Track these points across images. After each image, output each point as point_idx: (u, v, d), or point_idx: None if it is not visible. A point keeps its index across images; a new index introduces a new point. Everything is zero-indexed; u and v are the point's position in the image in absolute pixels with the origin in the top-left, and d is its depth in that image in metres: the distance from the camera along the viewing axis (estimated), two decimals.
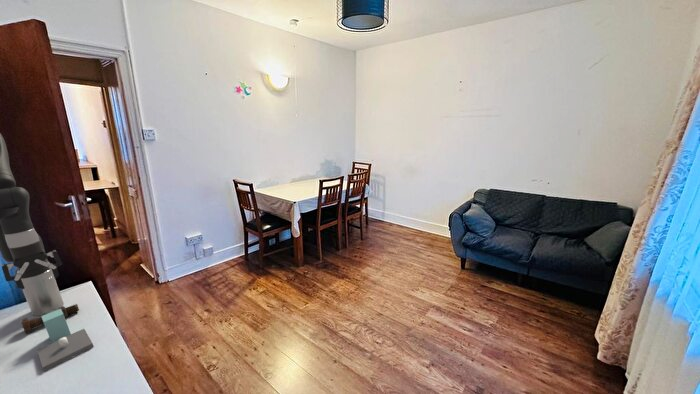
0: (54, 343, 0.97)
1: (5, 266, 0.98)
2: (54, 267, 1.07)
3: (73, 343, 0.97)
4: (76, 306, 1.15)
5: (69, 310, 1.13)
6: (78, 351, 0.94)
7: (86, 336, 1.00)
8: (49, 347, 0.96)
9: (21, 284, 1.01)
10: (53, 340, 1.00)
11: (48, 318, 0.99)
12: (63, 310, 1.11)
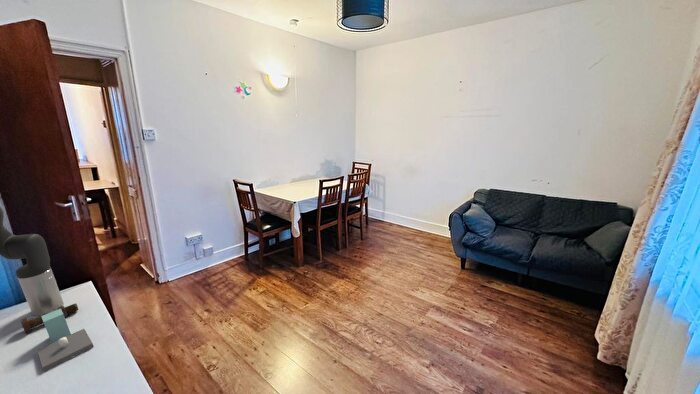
0: (54, 343, 0.97)
1: None
2: None
3: (73, 343, 0.97)
4: (75, 305, 1.15)
5: (68, 310, 1.13)
6: (78, 351, 0.94)
7: (86, 336, 1.00)
8: (49, 347, 0.96)
9: None
10: (53, 340, 1.00)
11: (48, 318, 0.99)
12: (62, 309, 1.12)
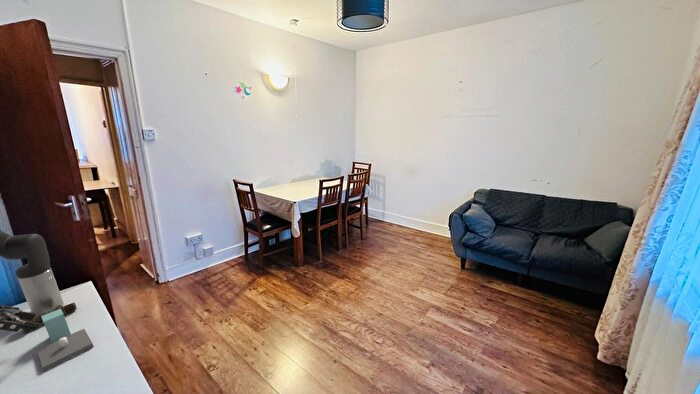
0: (54, 343, 0.97)
1: None
2: None
3: (73, 343, 0.97)
4: (74, 304, 1.16)
5: (67, 309, 1.14)
6: (78, 351, 0.94)
7: (86, 336, 1.00)
8: (49, 347, 0.96)
9: None
10: (53, 340, 1.00)
11: (48, 318, 0.99)
12: (61, 308, 1.12)
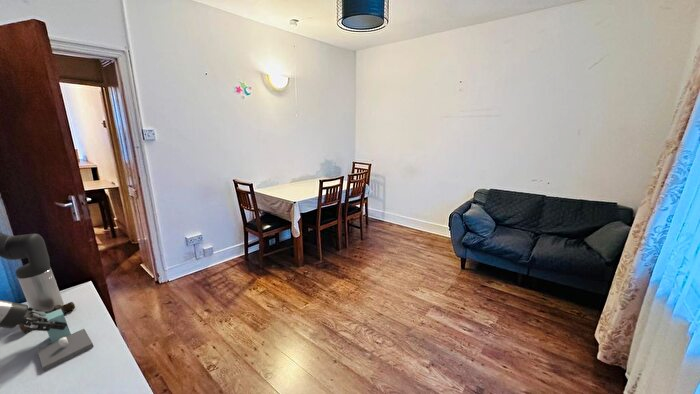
0: (54, 343, 0.97)
1: None
2: None
3: (73, 343, 0.97)
4: (72, 303, 1.17)
5: (66, 308, 1.14)
6: (78, 351, 0.94)
7: (86, 336, 1.00)
8: (49, 347, 0.96)
9: None
10: (53, 340, 1.00)
11: (48, 318, 0.99)
12: (60, 308, 1.13)
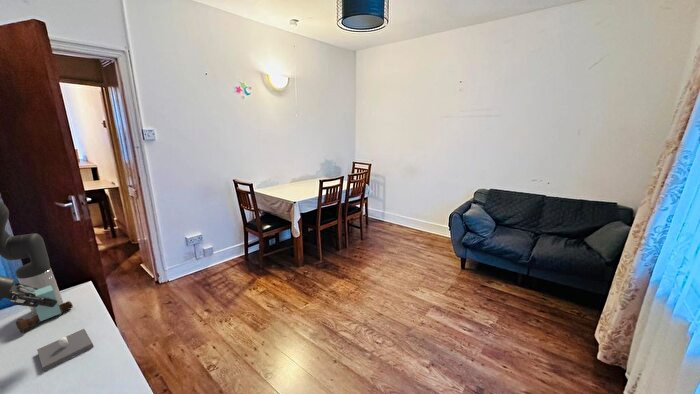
0: (54, 343, 0.97)
1: None
2: None
3: (73, 343, 0.97)
4: (70, 303, 1.17)
5: (64, 307, 1.15)
6: (78, 351, 0.94)
7: (86, 336, 1.00)
8: (49, 347, 0.96)
9: None
10: (42, 318, 0.93)
11: (36, 294, 0.92)
12: None
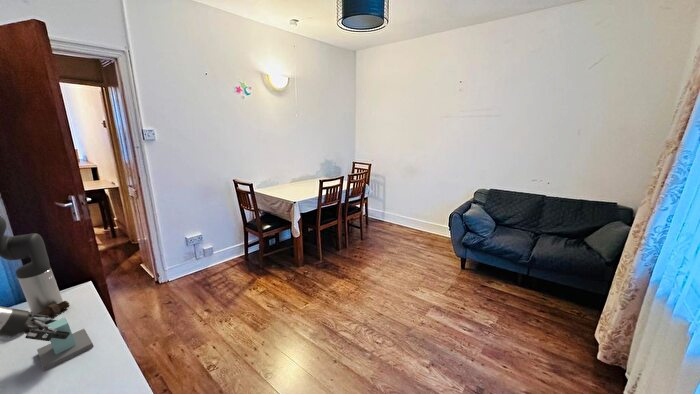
0: None
1: None
2: None
3: None
4: (66, 302, 1.18)
5: (61, 307, 1.16)
6: (78, 351, 0.94)
7: (86, 336, 1.00)
8: (49, 347, 0.96)
9: None
10: (57, 351, 0.93)
11: (52, 328, 0.92)
12: (55, 306, 1.14)
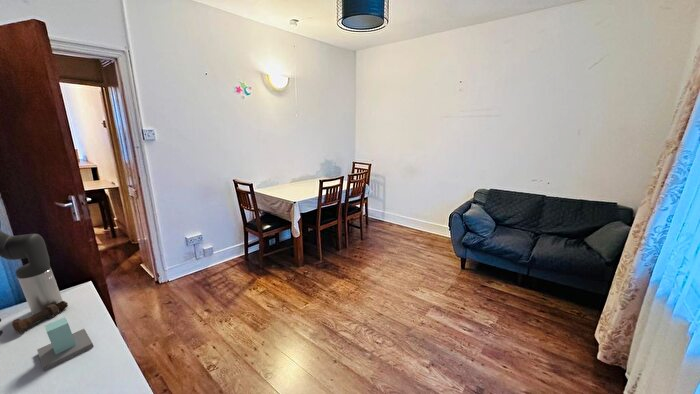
0: None
1: None
2: None
3: None
4: (65, 302, 1.18)
5: (60, 307, 1.15)
6: (78, 351, 0.94)
7: (86, 336, 1.00)
8: (49, 347, 0.96)
9: None
10: (57, 351, 0.93)
11: (52, 328, 0.92)
12: (54, 306, 1.14)
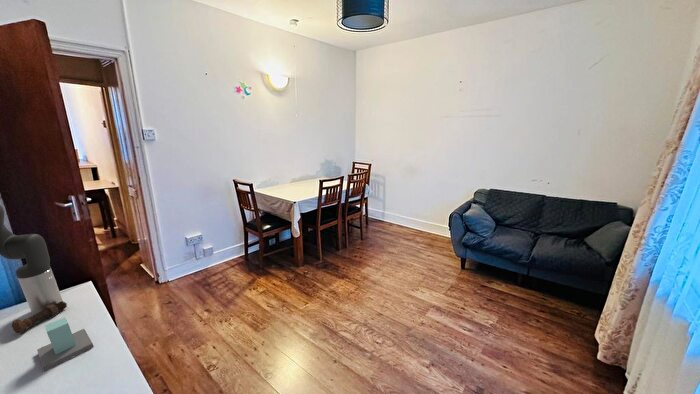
0: None
1: None
2: None
3: None
4: (64, 302, 1.17)
5: (59, 307, 1.15)
6: (78, 351, 0.94)
7: (86, 336, 1.00)
8: (49, 347, 0.96)
9: None
10: (57, 351, 0.93)
11: (52, 328, 0.92)
12: (54, 307, 1.14)
